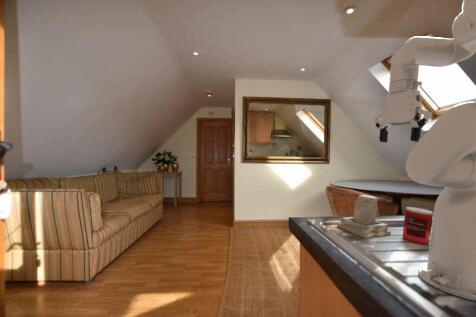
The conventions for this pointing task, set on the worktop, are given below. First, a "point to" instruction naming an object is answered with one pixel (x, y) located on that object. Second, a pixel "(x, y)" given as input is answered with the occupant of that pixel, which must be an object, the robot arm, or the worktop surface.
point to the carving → (365, 210)
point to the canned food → (417, 225)
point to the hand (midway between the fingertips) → (398, 141)
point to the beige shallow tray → (364, 228)
